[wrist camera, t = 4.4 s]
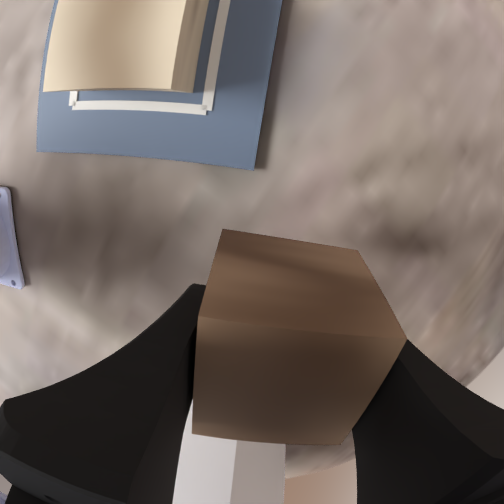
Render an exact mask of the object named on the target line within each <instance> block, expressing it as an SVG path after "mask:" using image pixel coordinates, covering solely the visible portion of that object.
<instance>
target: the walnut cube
mask: <svg viewBox="0 0 504 504" xmlns="http://www.w3.org/2000/svg"><path fill="white" fill-rule="evenodd" d="M406 340H407V337H406V335H405V333H404V332H403V330H402V328H401V326H400V324H399V322H398V320H397V318H396V316H395V315H394V313H393V311H392V309H391V307H390V305H389V304H388V302H387V300H386V298H385V296H384V295H383V293H382V291H381V289H380V288H379V286H378V284H377V282H376V281H375V279H374V277H373V275H372V274H371V272H370V270H369V269H368V267H367V265H366V264H365V262H364V260H363V258H362V257H361V255H360V254H359V252H358V250H352V249H346V248H340V247H334V246H328V245H322V244H316V243H309V242H303V241H297V240H291V239H285V238H278V237H272V236H266V235H259V234H253V233H246V232H240V231H233V230H227V229H222V233H221V236H220V240H219V243H218V247H217V250H216V253H215V257H214V260H213V264H212V268H211V271H210V275H209V278H208V282H207V285H206V289H205V293H204V296H203V300H202V304H201V307H200V311H199V315H198V324H197V338H196V353H195V370H194V388H193V410H192V434H196V435H202V436H208V437H215V438H223V439H231V440H240V441H250V442H261V443H275V444H297V445H341V443H342V442H343V441H344V439H345V438H346V436H347V435H348V434H349V432H350V431H351V429H352V428H353V427H354V425H355V424H356V422H357V421H358V420H359V418H360V417H361V415H362V414H363V412H364V411H365V409H366V408H367V406H368V405H369V403H370V402H371V400H372V398H373V397H374V395H375V394H376V392H377V391H378V389H379V387H380V386H381V384H382V383H383V381H384V379H385V378H386V376H387V374H388V373H389V371H390V369H391V367H392V366H393V364H394V362H395V360H396V359H397V357H398V355H399V353H400V352H401V350H402V348H403V346H404V344H405V342H406Z"/></svg>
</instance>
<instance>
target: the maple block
mask: <svg viewBox="0 0 504 504" xmlns="http://www.w3.org/2000/svg"><path fill="white" fill-rule="evenodd" d="M208 3H209V0H58V4H57V8H56V12H55V17H54V21H53V26H52V31H51V36H50V42H49V48H48V54H47V61H46V68H45V76H44V85H43V92H57V91H102V90H142V91H169V92H185V93H193V88H194V82H195V75H196V69H197V63H198V57H199V51H200V45H201V39H202V34H203V28H204V23H205V18H206V13H207V8H208Z"/></svg>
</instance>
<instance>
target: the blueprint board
mask: <svg viewBox="0 0 504 504" xmlns="http://www.w3.org/2000/svg"><path fill="white" fill-rule="evenodd" d="M57 4H58V0H55V2H54V6H53V10H52V14H51V19H50V23H49V28H48V33H47V39H46V44H45V50H44V57H43V64H42V71H41V80H40V89H39V101H38V117H37V152H65V153H89V154H106V155H121V156H134V157H146V158H157V159H167V160H177V161H186V162H195V163H203V164H211V165H218V166H226V167H233V168H240V169H247V170H253V171H254V166H255V159H256V153H257V147H258V141H259V135H260V129H261V122H262V116H263V110H264V104H265V98H266V92H267V86H268V80H269V74H270V69H271V63H272V57H273V51H274V45H275V39H276V34H277V28H278V22H279V16H280V11H281V5H282V0H209V3H208V8H207V13H206V18H205V23H204V28H203V34H202V39H201V45H200V51H199V57H198V63H197V69H196V75H195V82H194V88H193V93H185V92H169V91H142V90H102V91H57V92H43V85H44V76H45V68H46V61H47V54H48V48H49V42H50V36H51V31H52V26H53V21H54V17H55V12H56V8H57Z"/></svg>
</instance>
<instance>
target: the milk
mask: <svg viewBox="0 0 504 504" xmlns="http://www.w3.org/2000/svg"><path fill="white" fill-rule="evenodd" d="M192 410H193V400H192V403H191V407H190V410H189V413H188V417H187V420H186V424H185V428H184V433H183V438H182V444H181V450H180V456H179V462H178V468H177V475H176V481H175V488H174V495H173V502H172V504H284V483H285V450H286V444H275V443H261V442H250V441H240V440H231V439H223V438H215V437H208V436H202V435H196V434H192Z"/></svg>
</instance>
